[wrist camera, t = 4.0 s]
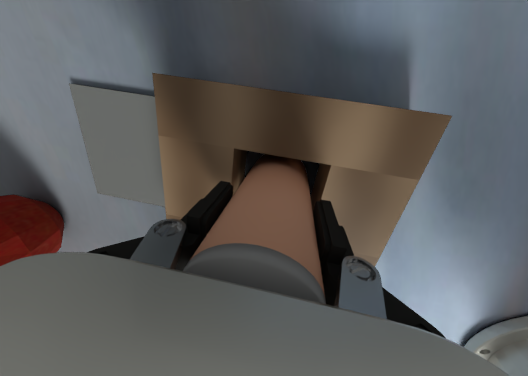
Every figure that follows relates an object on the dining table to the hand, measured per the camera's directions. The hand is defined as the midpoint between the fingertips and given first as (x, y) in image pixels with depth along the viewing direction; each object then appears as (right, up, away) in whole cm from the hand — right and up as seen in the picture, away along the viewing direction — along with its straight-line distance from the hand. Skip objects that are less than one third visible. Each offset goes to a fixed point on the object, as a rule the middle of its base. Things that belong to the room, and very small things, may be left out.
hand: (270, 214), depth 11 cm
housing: (+1, +2, +5) cm, 6 cm away
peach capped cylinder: (+1, +2, +5) cm, 6 cm away
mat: (-13, +5, +7) cm, 15 cm away
